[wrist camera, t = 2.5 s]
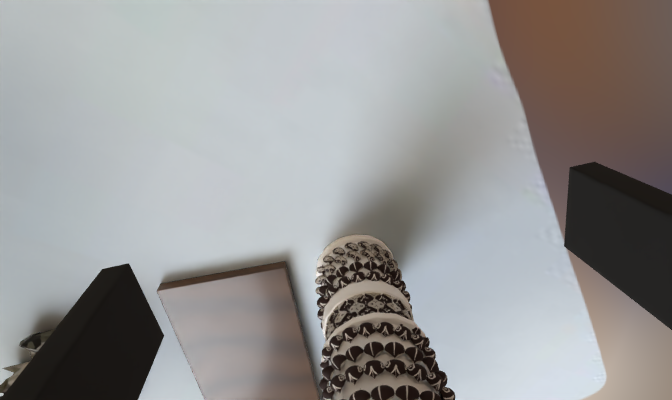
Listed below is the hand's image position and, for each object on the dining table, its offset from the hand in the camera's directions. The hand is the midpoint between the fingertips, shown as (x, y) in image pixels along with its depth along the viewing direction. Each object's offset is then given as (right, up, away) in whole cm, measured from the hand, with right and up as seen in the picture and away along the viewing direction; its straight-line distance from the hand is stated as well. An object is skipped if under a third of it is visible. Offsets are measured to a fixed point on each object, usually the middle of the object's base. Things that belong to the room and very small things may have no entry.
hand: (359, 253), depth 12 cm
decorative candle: (+1, -6, +30) cm, 30 cm away
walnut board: (-10, -19, +35) cm, 41 cm away
